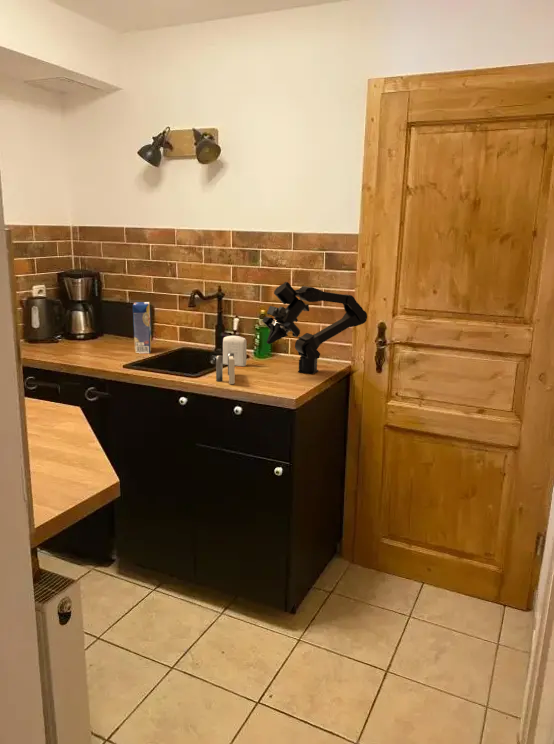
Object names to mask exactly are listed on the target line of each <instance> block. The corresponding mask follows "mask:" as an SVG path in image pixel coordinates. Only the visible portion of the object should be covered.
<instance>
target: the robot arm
mask: <svg viewBox="0 0 554 744" xmlns="http://www.w3.org/2000/svg"><path fill="white" fill-rule="evenodd" d="M273 294H274V295H275V296H276V297H277V299H278V300H279V301H280V302H281V303H282V304H283V305H287V306H286V307H283V306H279V307H277V306H272V305H269V307H268V310H267V312H266V315H269V316H264V317H263V319H262V320H261V321H262V323H263V324H264V325H265V326H266V327H267V328H268V330H270V331H269V333H268V337H267V340H266V344H268V345H270V344H273V343H274V342H277V341H278V340H281V339H282V338H286V337H288V335H289V334H288V333H290V332H292V334H291V335H292V336H293V337H294V338H298V339H297V340H295V343H294V349H295V351H297V353H298V355H299V359H298V371H297V373H300V374H308V375H309V374H310V375H314V374H316V373H318V372H319V369H318V359H320V356H321V353H320V351H319V350H318V349H319V347H320V346H321V344H323V343H325V342H326V341H328V340H330V339H332V338H333V337H335V336H337V335H339V334H340V333H342V332H344V331H345V330H347V329H349V328H353V327H358V326H361V325H363V324H366V322H367V319H368V313H367V311H366V310H364V309H363V307H362V305H360V303H358V301H357V300H356V299H355V297H354V296H353V295H352V294H347V293H345V294H344V293H343V294H342V293H336V292H328V291H323V290H322V289H318V288H316V287H313V286H307V285H302V286H301V287H300V288H298V289H294V288H293V287H292V285H291V284H290V283H289V282H288V281H285V282H283V283H282V284H281V285H279V286H277V287H276V288H275V289H274V291H273ZM305 302H308V304H307V303H305ZM318 302H330V303H334V304H342V305H343V308H344V311H345V313H344V314H343V316H342V318H340V319H339V320H337V321H334V322H333V323H332V324H330V325H328V326H326V327H325V328H323V329H321V330H320V331H318V332H316V333H314V334H312V333H309V332H306V333H303V335H301V336H300V334H301V329H300V328H299V327H298V326H297V325H296V324H295V323H297V322H298V321H299V319H298V317H299V316H300V315H301V313H302V312H309V311H310V304H309V303H318Z"/></svg>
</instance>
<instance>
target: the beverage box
mask: <svg viewBox="0 0 554 744" xmlns="http://www.w3.org/2000/svg"><path fill="white" fill-rule="evenodd" d="M132 316H133V317H132V321H133V343H134V344H133V345H134V354H135V353H139V354H151V351H152V349H151V348H152V328H151V327H152V325H151V302H149V301H144V302H143V301H140V302H139V301H136V302H133V304H132Z"/></svg>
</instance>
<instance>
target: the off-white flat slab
mask: <svg viewBox="0 0 554 744" xmlns="http://www.w3.org/2000/svg"><path fill="white" fill-rule="evenodd" d="M235 366H236V365H235V359H234V358H233V356H229V375H228V384H229V385H235V382H236V380H235V379H236V378H235V377H236V376H235V373H236V371H235Z"/></svg>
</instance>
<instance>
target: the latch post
mask: <svg viewBox="0 0 554 744" xmlns="http://www.w3.org/2000/svg"><path fill="white" fill-rule="evenodd" d="M223 365H224V364H223V355H215V368H216V369H215V380H216V382H223V381H224V379H223V377H224V375H223V374H224V373H223Z"/></svg>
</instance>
